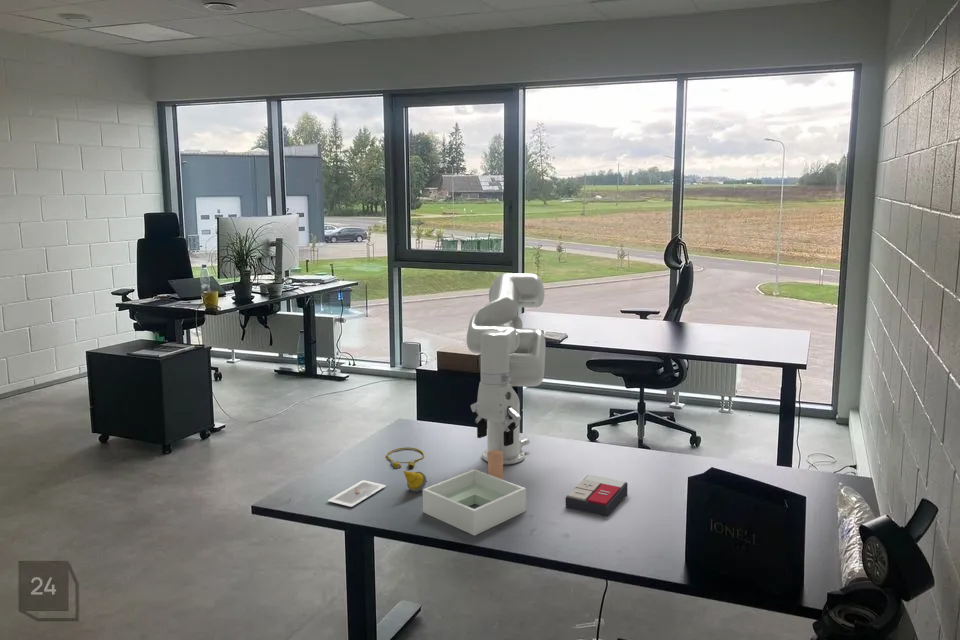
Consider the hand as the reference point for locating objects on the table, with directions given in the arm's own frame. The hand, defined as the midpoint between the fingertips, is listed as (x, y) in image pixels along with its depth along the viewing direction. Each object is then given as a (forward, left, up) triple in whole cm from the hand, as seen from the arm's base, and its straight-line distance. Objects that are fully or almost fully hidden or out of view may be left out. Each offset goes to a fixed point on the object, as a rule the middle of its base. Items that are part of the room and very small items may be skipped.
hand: (495, 440), depth 196 cm
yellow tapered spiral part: (+17, -12, -13) cm, 25 cm away
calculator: (-11, +26, -13) cm, 31 cm away
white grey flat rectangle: (+30, -22, -13) cm, 39 cm away
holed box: (+15, +8, -13) cm, 21 cm away
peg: (-1, 0, -13) cm, 13 cm away
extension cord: (+4, -33, -13) cm, 36 cm away
